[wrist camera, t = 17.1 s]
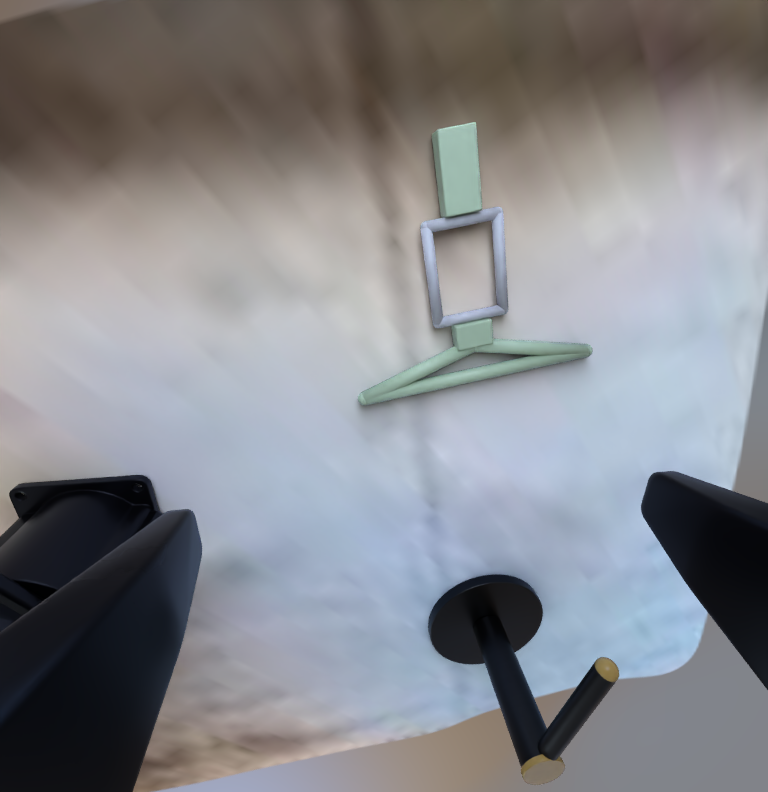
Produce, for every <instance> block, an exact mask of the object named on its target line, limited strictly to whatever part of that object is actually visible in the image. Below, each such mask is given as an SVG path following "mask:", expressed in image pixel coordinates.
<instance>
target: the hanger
mask: <svg viewBox="0 0 768 792" xmlns="http://www.w3.org/2000/svg"><path fill="white" fill-rule="evenodd" d="M432 143H433V152H434V161H435V170H436V179H437V188H438V197H439V205H440V214H441V217H444V218H439V219H434V220H429V221H424V222H423V223H422V224H421V226H420V229H421V237H422V245H423V252H424V260H425V267H426V275H427V282H428V290H429V297H430V305H431V312H432V320H433V325H434V327H435V328H443V327H447V326H451V329H452V337H453V345H454V347H452V348H450V349H448V350H446V351H444V352H442V353H440V354H438V355H436V356H434V357H432V358H430V359H428V360H426V361H424V362H422V363H420V364H418V365H416V366H414V367H412V368H410V369H408V370H406V371H404V372H402V373H400V374H398V375H396V376H394V377H391V378H389V379H387V380H385V381H383V382H381V383H379V384H377V385H375V386H373V387H371V388H369V389H367V390H365V391H363V392H361V393H360V394H359V396H358V401H359V403H360V404H362V405H370V404H374V403H379V402H383V401H388V400H393V399H397V398H402V397H406V396H411V395H416V394H420V393H425V392H429V391H434V390H439V389H443V388H448V387H452V386H457V385H462V384H466V383H471V382H475V381H480V380H485V379H489V378H494V377H498V376H503V375H508V374H512V373H517V372H521V371H526V370H531V369H535V368H540V367H544V366H549V365H554V364H558V363H563V362H567V361H572V360H577V359H581V358H586V357H589V356H590V355H591V354H592V347H591V346H590V345H588V344H578V343H560V342H542V341H524V340H507V339H493V327H492V320H491V319H490V317H495V316H499V315H504V314H506V313H507V312H508V295H507V276H506V257H505V238H504V219H503V210H502V208H501V207H493V208H489V209H484V210H482V199H481V185H480V171H479V157H478V143H477V129H476V123H475V122H473V123H468V124H463V125H458V126H453V127H447V128H442V129H438V130H437V131H435V132H434V133H433V134H432ZM491 220H492V233H493V248H494V264H495V280H496V295H497V305H496V306H491V307H486V308H482V309H477V310H472V311H467V312H463V313H458V314H453V315H448V316H444V317H443V314H442V306H441V298H440V290H439V281H438V273H437V265H436V257H435V248H434V240H433V232H437V231H442V230H446V229H451V228H456V227H461V226H466V225H471V224H476V223H481V222H486V221H491ZM474 352H485V353H504V354H524V355H531V356H526V357H522V358H517V359H512V360H508V361H503V362H498V363H494V364H489V365H485V366H480V367H475V368H471V369H466V370H461V371H457V372H452V373H448V374H443V375H438V376H434V377H429V378H424V379H421V378H423V377H425V376H427V375H429V374H431V373H433V372H435V371H437V370H439V369H441V368H443V367H445V366H447V365H449V364H451V363H453V362H455V361H457V360H459V359H461V358H463V357H466V356H468V355H470V354H472V353H474ZM419 379H420V380H419Z"/></svg>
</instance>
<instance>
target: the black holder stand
mask: <svg viewBox="0 0 768 792" xmlns="http://www.w3.org/2000/svg"><path fill="white" fill-rule="evenodd" d="M542 616H543V610H542V605H541V602H540V600H539V598H538V596H537V595H536V593H535V591H534V590H533V588H532V587H531V586H530V585H528V584H527V583H526V582H524V581H522V580H521V579H518V578H516V577H512V576H508V575H485V576H480V577H476V578H473V579H470V580H467V581H465V582H462V583H461V584H459V585H457V586H455V587H454V588H452V589H451V590H449V591H448V592H447V593H445V594H444V595H443V596H442V597H441V598H440V599H439V600H438V602H437V603H436V604H435V606H434V608H433V609H432V612H431V614H430V617H429V622H428V628H429V634H430V638H431V641H432V644H433V646H434V648H435V649H436V650H437V651H438V653H439V654H441V655H442V656H443V657H445V658H447V659H449V660H451V661H454V662H457V663H463V664H483V663H485V665H486V668H487V670H488V673H489V676H490V679H491V682H492V685H493V688H494V691H495V693H496V696H497V699H498V702H499V705H500V708H501V711H502V713H503V716H504V719H505V722H506V725H507V728H508V731H509V733H510V736H511V739H512V742H513V745H514V748H515V751H516V753H517V756H518V759H519V762H520V765H521V768H522V769H521V774H522V777H523V779H524V781H525V782H526V783H528V784H531V785H541V784H545V783H548V782H551V781H553V780H555V779H556V778H558V777H559V776H560V775H561V774H562V773H563V772H564V769H565V765H564V763H563V760H562V758H561V757H560V755H561V754H562V752H563V751H564V749H565V748H566V747H567V745H568V744H569V743H570V742H571V740H572V739H573V738H574V736H575V735H576V734H577V732H578V731H579V730H580V728H581V727H582V726H583V724H584V723H585V722H586V721H587V719H588V718H589V716H590V715H591V714H592V713H593V711H594V710H595V709H596V707H597V706H598V704H599V703H600V702H601V701H602V699H603V698H604V697H605V695H606V694H607V693H608V691H609V690H610V689H611V687H612V686H613V685H614V684H615V682H616V681H617V679H618V677H619V670H618V667H617V665H616V664H615V663H614V662H613V661H612V660H611V659H609V658H606V657H600V658H598V659H597V660H596V661H595V663H594V664H593V665H592V667H591V668H590V670H589V671H588V672H587V674H586V675H585V677H584V678H583V679H582V681H581V682H580V684H579V685H578V686H577V688H576V689H575V691H574V692H573V694H572V695H571V696H570V698H569V699H568V701H567V702H566V703H565V705H564V706H563V708H562V709H561V710H560V712H559V713H558V715H557V716H556V717H555V719H554V720H553V722H552V723H551V724H550V726H549V727H548V729H547V728H546V726H545V723H544V721H543V719H542V716H541V714H540V711H539V709H538V707H537V704H536V702H535V700H534V697H533V695H532V693H531V690H530V688H529V686H528V683H527V681H526V679H525V676H524V674H523V671H522V669H521V667H520V664H519V662H518V660H517V657H516V655H515V653H514V652H516V651H518V650H519V649H521V648H522V647H523V646H525V645H526V644H527V643H528V642H529V641H530V640H531V639H532V638H533V636H534V635H535V634H536V632H537V630H538V629H539V627H540V624H541V621H542Z"/></svg>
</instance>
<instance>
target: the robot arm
mask: <svg viewBox="0 0 768 792" xmlns="http://www.w3.org/2000/svg"><path fill="white" fill-rule="evenodd" d="M136 484H140V485H142V487H139V486H137V485H136ZM21 492H22V493H24V494H25V495H23V494H22V493H21ZM9 496H10V499H11V501H12V503H13V505H14V508H15V510H16V512H17V514H18V517H19V519H18V520H17V521H16V522H15V523H14V524H13V525H12V526H11V527H10V528H9V529H8V530H7V531H6V532H5V533H4V534H2V535H1V536H0V792H133V789H134V786H135V783H136V780H137V777H138V774H139V771H140V768H141V765H142V762H143V759H144V756H145V753H146V750H147V747H148V744H149V741H150V738H151V735H152V732H153V729H154V726H155V723H156V720H157V717H158V714H159V711H160V708H161V705H162V702H163V699H164V696H165V694H166V691H167V688H168V685H169V682H170V679H171V676H172V673H173V670H174V667H175V664H176V661H177V658H178V655H179V651H180V648H181V645H182V642H183V638H184V633H185V629H186V625H187V621H188V616H189V612H190V607H191V603H192V598H193V593H194V589H195V584H196V580H197V575H198V571H199V566H200V562H201V557H202V544H201V539H200V535H199V531H198V526H197V522H196V518H195V515H194V513H193V511H191V510H189V509H185V510H172V511H167V512H166V513H164V514H162V513H161V511H159V509H158V505H157V502H156V498H155V495H154V491H153V488H152V484H151V481H150V480H149V479H148V478H147V477H145V476H143V475H132V476H118V477H104V478H90V479H76V480H62V481H48V482H34V483H22V484H18V485H17V486H16V487H15V488H13V489H12V490H11V491H10V493H9ZM641 511H642V515H643V517H644V519H645V520H646V522H647V524H648V525H649V527H650V528H651V530H652V531H653V533H654V534H655V536H656V538H657V539H658V541H659V542H660V544H661V545H662V547H663V548H664V550H665V551H666V553H667V555H668V556H669V558H670V559H671V561H672V562H673V564H674V565H675V567H676V569H677V570H678V572H679V573H680V575H681V576H682V578H683V579H684V581H685V582H686V584H687V585H688V587H689V588H690V589H691V591H692V592H693V593H694V595H695V596H696V597H697V599H698V600H699V601H700V603H701V604H702V605H703V607H704V608H705V609H706V610H707V612H708V613H709V614H710V616H711V617H712V618H713V619H714V621H715V622H716V623H717V625H718V626H719V627H720V629H721V630H722V631H723V633H724V634H725V635H726V636H727V638H728V639H729V640H730V641H731V643H732V644H733V646H734V647H735V648H736V649H737V651H738V652H739V653H740V654H741V656H742V657H743V659H744V660H745V661H746V662H747V664H749V666H750V668H751V669H752V670H753V671H754V673H755V674H756V675H757V677H758V678H759V679H760V681H761V682H762V683H763V684H764V686H765V687H766V688H767V690H768V503H765V502H762V501H759V500H756V499H754V498H751V497H747V496H745V495H742V494H739V493H736V492H733V491H731V490H728V489H725V488H722V487H719V486H716V485H713V484H710V483H707V482H705V481H702V480H699V479H696V478H693V477H690V476H687V475H684V474H682V473H679V472H675V471H666V472H656V473H653V474H652V475H651V476H650V478H649V480H648V483H647V487H646V490H645V493H644V497H643V500H642V504H641Z"/></svg>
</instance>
